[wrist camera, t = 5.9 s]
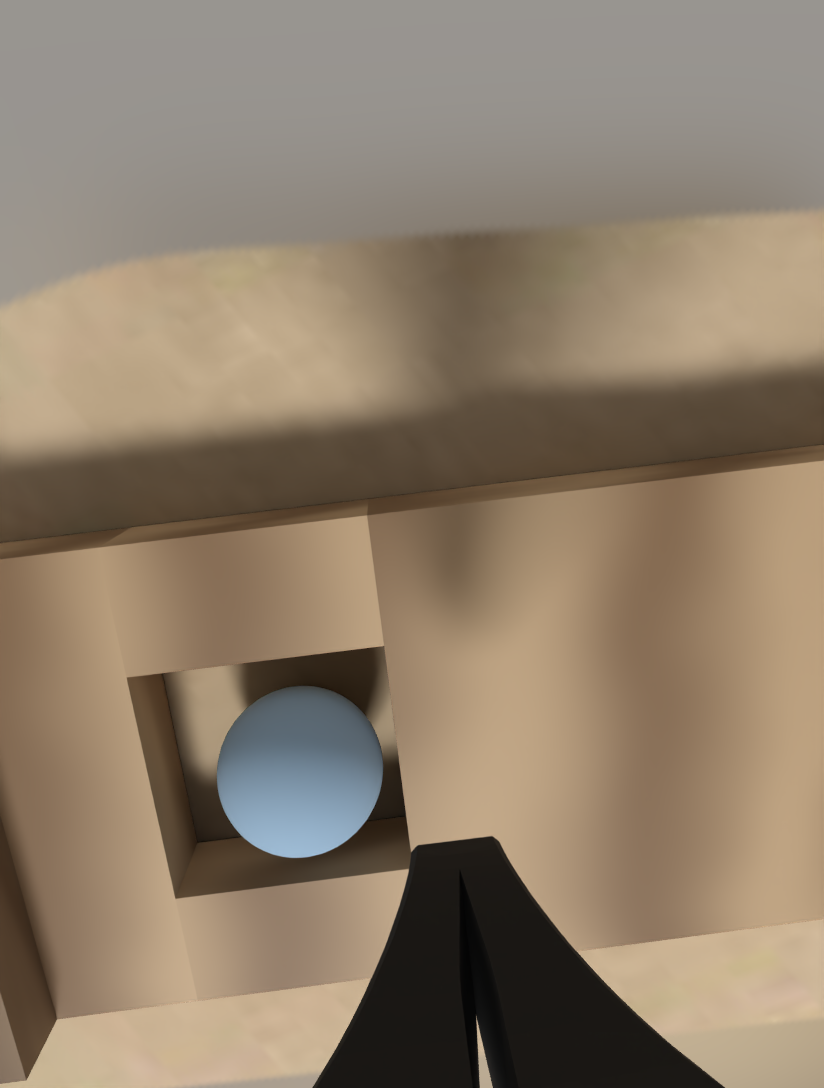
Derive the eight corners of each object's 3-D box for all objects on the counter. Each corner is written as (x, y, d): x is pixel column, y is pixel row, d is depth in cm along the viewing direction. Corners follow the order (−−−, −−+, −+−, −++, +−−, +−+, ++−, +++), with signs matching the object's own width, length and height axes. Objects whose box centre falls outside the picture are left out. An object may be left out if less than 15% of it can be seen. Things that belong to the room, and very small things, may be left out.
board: (899, 435, 17) (1034, 450, 13) (881, 850, 19) (990, 953, 16) (-60, 549, 16) (-176, 596, 13) (51, 957, 19) (-21, 1086, 15)
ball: (166, 720, 15) (278, 653, 18) (197, 871, 16) (299, 783, 19) (304, 748, 13) (403, 669, 16) (331, 916, 14) (420, 811, 17)
